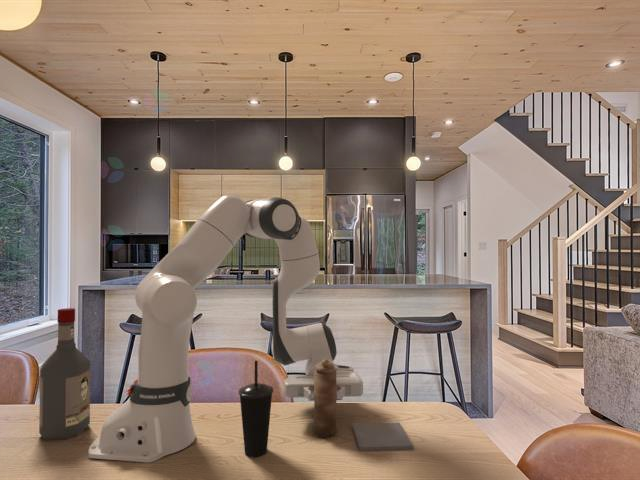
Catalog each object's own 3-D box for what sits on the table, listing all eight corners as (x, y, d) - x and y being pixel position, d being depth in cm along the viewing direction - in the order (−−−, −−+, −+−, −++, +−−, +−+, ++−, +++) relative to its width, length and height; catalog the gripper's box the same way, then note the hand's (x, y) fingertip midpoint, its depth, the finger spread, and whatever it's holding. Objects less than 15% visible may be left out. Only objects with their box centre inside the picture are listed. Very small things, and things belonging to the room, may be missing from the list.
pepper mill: (315, 438, 96) (314, 362, 96) (313, 428, 101) (313, 356, 101) (337, 438, 96) (337, 362, 96) (335, 427, 101) (335, 356, 102)
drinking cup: (266, 462, 85) (266, 367, 85) (232, 458, 87) (232, 365, 87) (277, 445, 93) (277, 357, 93) (246, 442, 94) (246, 355, 94)
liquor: (33, 440, 95) (35, 312, 96) (57, 423, 104) (58, 306, 105) (73, 439, 95) (74, 312, 96) (93, 423, 105) (94, 306, 105)
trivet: (359, 450, 90) (359, 447, 90) (352, 427, 102) (352, 423, 102) (413, 449, 91) (412, 445, 91) (399, 425, 103) (399, 422, 103)
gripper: (284, 367, 111) (282, 385, 97) (358, 366, 112) (366, 383, 98) (284, 391, 111) (282, 411, 97) (358, 389, 112) (366, 409, 98)
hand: (325, 397), depth 98 cm, fingers closed on pepper mill, 5 cm apart
